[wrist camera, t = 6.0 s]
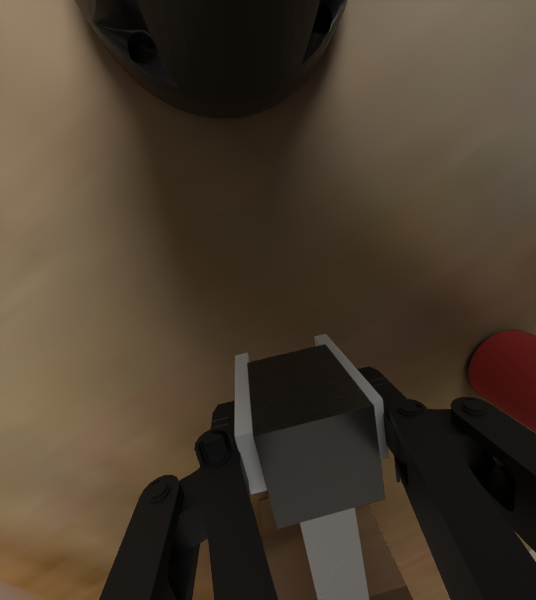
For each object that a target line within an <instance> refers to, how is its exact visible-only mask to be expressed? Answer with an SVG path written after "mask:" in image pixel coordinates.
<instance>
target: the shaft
mask: <svg viewBox="0 0 536 600" xmlns="http://www.w3.org/2000/svg"><path fill="white" fill-rule="evenodd" d="M247 369H248V381H249V393H250V406H251V418H252V430H253V438H254V442H255V446H256V450H257V453H258V457H259V461H260V465H261V469H262V472H263V476H264V480H265V484H266V488H267V491H268V495H269V499H270V503H271V507H272V510H273V514H274V518H275V522H276V526H277V529H280V528H283V527H287V526H290V525H294V524H297V523H300V526H301V530H302V534H303V539H304V543H305V547H306V551H307V556H308V560H309V564H310V569H311V573H312V577H313V582H314V586H315V590H316V595H317V599H318V600H369V595H368V588H367V582H366V576H365V569H364V563H363V557H362V550H361V544H360V538H359V531H358V525H357V519H356V512H355V507H359V506H362V505H366V504H369V503H373V502H376V501H380V500H384V499H385V495H384V486H383V478H382V469H381V461H380V452H379V444H378V435H377V427H376V418H375V410H374V405H373V404H372V402H371V401H370V400H369V399H368V397H367V396H366V395H365V394H364V392H363V391H362V390H361V389H360V387H359V386H358V385H357V383H356V382H355V381H354V380H353V378H352V377H351V376H350V375H349V373H348V372H347V371H346V370H345V368H344V367H343V366H342V364H341V363H340V362H339V361H338V359H337V358H336V357H335V356H334V354H333V353H332V352H331V351H330V349H329V348H328V347H327V345H326V344H324V345H319V346H315V347H311V348H307V349H303V350H299V351H295V352H290V353H286V354H282V355H278V356H274V357H270V358H266V359H261V360H257V361H253V362H249V363H247Z"/></svg>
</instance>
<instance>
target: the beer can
mask: <svg viewBox="0 0 536 600" xmlns="http://www.w3.org/2000/svg"><path fill="white" fill-rule="evenodd" d="M469 380H470V382H471V384H472V387H473V389H474V390H475V391H476V392H477V393H478V394H479V395H480V396H482V397H483V398H485V399H486V400H488V401H489V402H491V403H492V404H494V405H495V406H497V407H498V408H500V409H501V410H503V411H504V412H506V413H507V414H508V415H510V416H511V417H513V418H514V419H516V420H517V421H519V422H520V423H522V424H523V425H525V426H526V427H528V428H529V429H531V430H532V431H534V432H535V433H536V336H535V335H532V334H529V333H527V332H524V331H517V330H508V331H504V332H500V333H497V334H495V335H493V336H491V337H490V338H488V339H486V340H485V341H484V342H483V343H482V344H481V345H480V346H479V347H478V348H477V349H476V351H475V353H474V354H473V356H472V358H471V361H470V365H469Z"/></svg>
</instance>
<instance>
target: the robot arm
mask: <svg viewBox="0 0 536 600" xmlns="http://www.w3.org/2000/svg"><path fill="white" fill-rule="evenodd" d="M75 1H76V2H77V4H78V6H79V8H80V10H81V11H82V13H83V14H84V16H85V17H86V19H87V21H88V22H89V24H90V25H91V26H92V28H93V29H94V31H95V32H96V34H97V35H98V36H99V38H100V39H101V41H102V42H103V44H104V45H105V46H106V48H107V49H108V51H109V52H110V53H111V55H112V56H113V57H114V58H115V60H116V61H117V62H118V63H119V64H120V66H121V67H122V68H123V69H124V70H125V71H126V72H127V73H128V74H129V75H130V76H131V77H132V78H133V79H134V80H135V81H136V82H138V83H139V84H140V85H141V86H142V87H143V88H145V89H146V90H148V91H149V92H150V93H152V94H153V95H155V96H156V97H158V98H159V99H161V100H163V101H165V102H166V103H168V104H170V105H172V106H175V107H177V108H179V109H182V110H184V111H187V112H190V113H194V114H197V115H202V116H207V117H216V118H231V117H240V116H246V115H250V114H254V113H257V112H260V111H263V110H265V109H267V108H270V107H271V106H273V105H275V104H277V103H279V102H280V101H282V100H283V99H285V98H286V97H288V96H289V95H290V94H291V93H293V92H294V91H295V90H296V89H297V88H298V87H299V86H300V85H301V84H302V83H303V82H304V81H305V80H306V79H307V78H308V76H309V75H310V74H311V73H312V71H313V70H314V68H315V67H316V66H317V64H318V63H319V61H320V59H321V58H322V56H323V54H324V52H325V50H326V48H327V46H328V44H329V42H330V40H331V38H332V36H333V34H334V32H335V30H336V28H337V26H338V23H339V21H340V19H341V17H342V14H343V11H344V9H345V6H346V3H347V0H75ZM314 341H315V346H319V345H324V344H326V345H327V347H328V348H329V349H330V351H331V352H332V353H333V354H334V356H335V357H336V358H337V359H338V361H339V362H340V363H341V364H342V366H343V367H344V368H345V370H346V371H347V372H348V373H349V375H350V376H351V377H352V378H353V380H354V381H355V382H356V383H357V385H358V386H359V387H360V389H361V390H362V391H363V392H364V394H365V395H366V396H367V397H368V399H369V400H370V401H371V402H372V404H373V405H374V410H375V418H376V427H377V435H378V444H379V452H380V460H382V459H385V458H389V454H388V447H389V449H390V450H391V451H392V453H393V454H394V459H395V469H396V478H397V482H400V478H401V481H402V483H403V486H404V488H405V490H406V493H407V495H408V498H409V500H410V502H411V505H412V507H413V510H414V512H415V514H416V517H417V519H418V522H419V524H420V527H421V529H422V531H423V534H424V536H425V539H426V541H427V543H428V546H429V548H430V551H431V553H432V556H433V558H434V560H435V563H436V565H437V568H438V570H439V572H440V575H441V577H442V580H443V582H444V585H445V587H446V589H447V592H448V594H449V597H450V599H451V600H536V562H535V560H534V559H533V557H532V556H531V554H530V553H529V552H528V550H527V549H526V547H525V546H524V545H523V543H522V542H521V540H520V539H519V537H518V536H517V535H516V533H517V534H518V535H519V536H520V537H521V538H522V539H523V540H524V541H525V542H526V543H527V544H528V545H529V546H530V547H531V548H532V549H533V550H534V551H535V552H536V433H534V432H533V431H531V430H529V429H528V428H526V427H525V426H523V425H522V424H520V423H519V422H517V421H516V420H514V419H513V418H511V417H509V416H508V415H506V414H505V413H503V412H502V411H500V410H499V409H497V408H496V407H494V406H492V405H491V404H489V403H487V402H485V401H483V400H480V399H477V398H472V397H461V398H457V399H455V400H453V401H452V403H451V409H439V410H435V409H427V408H426V407H425V406H424V405H423V404H422V403H420V402H418V401H416V400H411V399H407V398H406V397H405V396H404V395H403V394H402V393H401V392H399V391H398V390H397V389H396V388H395V387H394V386H393V385H392V384H391V383H390V382H389V381H388V380H387V379H386V378H385V377H384V376H383V375H382V374H381V373H380V372H379V371H378V370H376V369H374V368H371V367H365V368H361V369H356V368H355V366H354V365H353V364H352V363H351V362H350V361H349V360H348V358H347V357H346V356H345V355H344V354H343V353H342V351H341V350H340V349H339V348H338V347H337V346H336V345H335V343H334V342H333V341H332V340H331V339H330V338H329V337H328V335H327V334H323V335H318V336H314ZM249 362H250V360H249V356H248V352H247V353H243V354H239V355H235V401H231V402H227V403H223V404H219V405H218V406H217V407H216V409H215V410H214V412H213V416H212V424H211V429H210V430H209V431H207V432H205V433H204V434H202V435H201V436H200V437H199V438H198V440H197V441H196V443H195V448H194V449H195V452H196V455H197V458H198V461H199V464H200V468H199V469H198V470H196V471H195V472H194V473H192V474H191V475H189V476H187V477H185V478H183V479H181V480H180V481H179V480H178V479H177V477H175V476H173V475H164V476H162V477H159V478H157V479H155V480H154V481H153V482H151V483H150V484H149V485H148V486H147V487H146V488H145V489H144V490H143V492H142V494H141V496H140V498H139V500H138V503H137V505H136V508H135V510H134V513H133V515H132V518H131V520H130V523H129V525H128V528H127V530H126V533H125V536H124V538H123V541H122V543H121V546H120V548H119V551H118V553H117V556H116V558H115V561H114V563H113V566H112V568H111V571H110V573H109V576H108V579H107V581H106V584H105V586H104V589H103V591H102V594H101V596H100V599H99V600H192V596H193V589H194V582H195V575H196V568H197V561H198V554H199V548H200V543H201V542H203V541H204V540H206V539H207V538H208V542H209V552H210V562H211V571H212V581H213V591H214V600H278V596H277V593H276V589H275V586H274V582H273V579H272V575H271V572H270V568H269V564H268V561H267V557H266V554H265V550H264V547H263V543H262V540H261V536H260V533H259V529H258V526H257V522H256V519H255V515H254V511H253V508H252V504H251V501H250V498H249V489H250V493H251V495H252V494H255V493H259V492H263V491H267V488H266V484H265V480H264V476H263V472H262V469H261V465H260V461H259V457H258V453H257V450H256V446H255V442H254V438H253V430H252V418H251V406H250V393H249V381H248V369H247V363H249ZM514 531H515V532H516V533H515V532H514Z"/></svg>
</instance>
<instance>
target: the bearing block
mask: <svg viewBox="0 0 536 600" xmlns="http://www.w3.org/2000/svg"><path fill="white" fill-rule="evenodd" d="M259 503H260V515H261V527H262V538H263V547H264V550H265V554H266V557H267V561H268V564H269V568H270V572H271V575H272V579H273V582H274V586H275V589H276V593H277V596H278V600H318V599H317V595H316V590H315V586H314V582H313V577H312V573H311V569H310V564H309V560H308V556H307V551H306V547H305V543H304V539H303V534H302V530H301V526H300V523H297V524H294V525H290V526H287V527H283V528H280V529H277V526H276V522H275V518H274V514H273V510H272V507H271V503H270V499H269V498H266V499H262V500H259ZM355 512H356V519H357V525H358V531H359V538H360V544H361V550H362V557H363V563H364V569H365V576H366V582H367V588H368V595H369V600H413V598H412V596H411V594H410V592H409V590H408V588H407V586H406V584H405V582H404V580H403V578H402V575H401V573H400V571H399V569H398V567H397V565H396V563H395V561H394V559H393V557H392V555H391V553H390V550H389V548H388V546H387V544H386V542H385V540H384V538H383V536H382V534H381V532H380V530H379V528H378V526H377V523H376V521H375V519H374V517H373V515H372V513H371V511H370V509H369V507H368V505H367V504H366V505H362V506H359V507H355Z"/></svg>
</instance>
